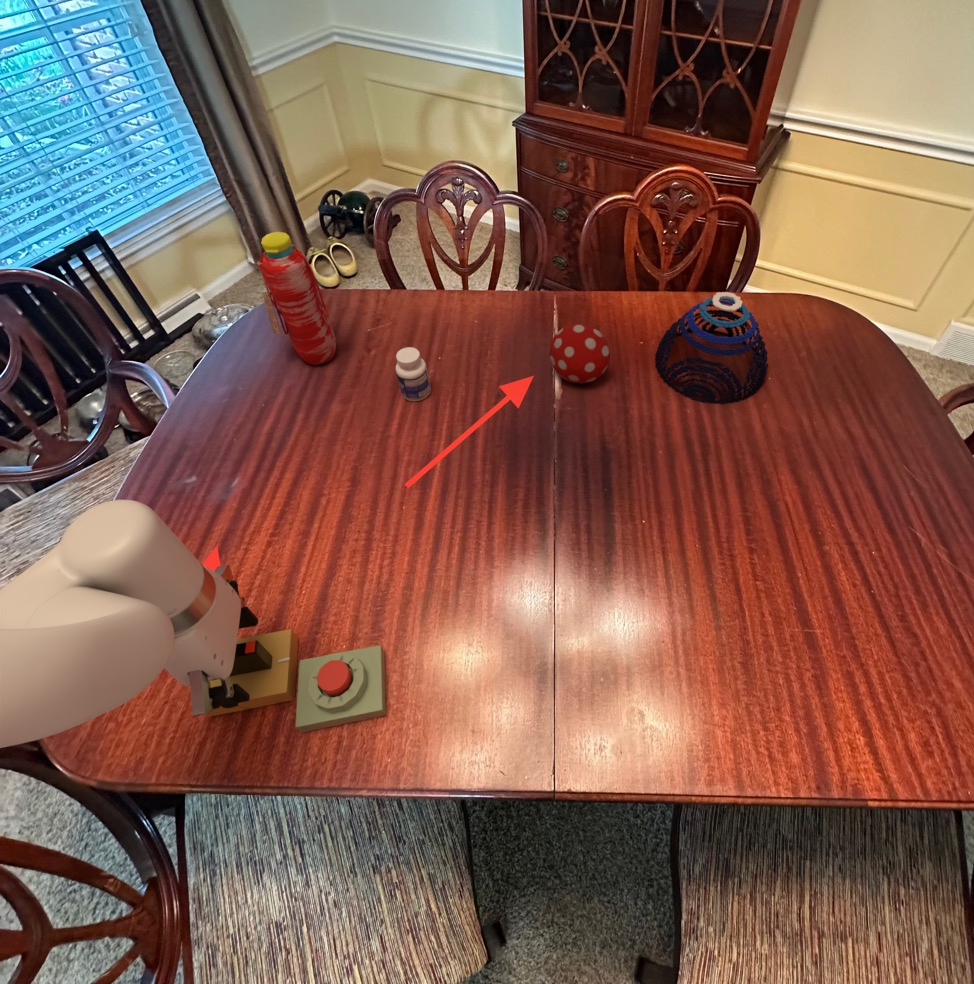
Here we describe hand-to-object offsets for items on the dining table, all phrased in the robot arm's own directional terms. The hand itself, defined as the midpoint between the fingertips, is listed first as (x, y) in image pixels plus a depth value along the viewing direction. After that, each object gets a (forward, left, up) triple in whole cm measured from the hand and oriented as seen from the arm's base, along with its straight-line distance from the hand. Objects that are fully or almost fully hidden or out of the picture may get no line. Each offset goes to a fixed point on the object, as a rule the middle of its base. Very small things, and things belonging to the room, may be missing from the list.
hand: (241, 661), depth 72 cm
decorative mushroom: (+53, +48, -5) cm, 72 cm away
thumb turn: (0, 0, -2) cm, 2 cm away
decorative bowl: (+77, +43, -5) cm, 88 cm away
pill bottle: (+23, +47, -5) cm, 53 cm away
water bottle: (+4, +61, -5) cm, 61 cm away
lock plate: (0, 0, -5) cm, 5 cm away
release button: (+11, -4, -1) cm, 12 cm away
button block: (+11, -4, -5) cm, 13 cm away
